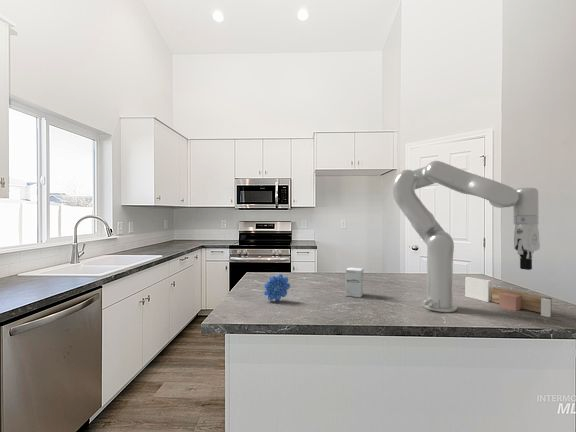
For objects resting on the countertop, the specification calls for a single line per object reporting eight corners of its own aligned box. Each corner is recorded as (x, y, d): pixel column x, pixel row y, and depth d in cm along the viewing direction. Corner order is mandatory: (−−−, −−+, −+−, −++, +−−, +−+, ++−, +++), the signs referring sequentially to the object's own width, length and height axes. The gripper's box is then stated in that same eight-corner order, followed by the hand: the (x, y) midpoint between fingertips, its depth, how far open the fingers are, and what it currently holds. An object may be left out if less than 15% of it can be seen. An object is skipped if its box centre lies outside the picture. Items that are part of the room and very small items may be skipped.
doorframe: (548, 317, 119) (548, 293, 118) (462, 297, 147) (462, 277, 146) (554, 314, 121) (554, 291, 121) (468, 295, 149) (468, 276, 149)
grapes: (289, 298, 144) (289, 271, 144) (290, 302, 137) (290, 274, 137) (263, 298, 143) (263, 272, 143) (263, 302, 136) (263, 275, 136)
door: (550, 315, 120) (550, 298, 120) (491, 302, 138) (492, 287, 138) (552, 314, 121) (552, 298, 121) (493, 301, 139) (493, 287, 139)
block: (515, 311, 126) (515, 297, 126) (499, 307, 132) (499, 294, 131) (520, 309, 129) (520, 295, 129) (504, 305, 134) (504, 292, 134)
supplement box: (345, 296, 148) (345, 269, 148) (348, 292, 155) (348, 266, 154) (361, 298, 145) (361, 270, 145) (363, 294, 152) (363, 267, 152)
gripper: (528, 221, 112) (528, 272, 112) (546, 220, 120) (546, 268, 120) (504, 220, 119) (505, 269, 119) (523, 220, 126) (523, 266, 126)
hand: (525, 269), depth 119 cm, fingers closed
